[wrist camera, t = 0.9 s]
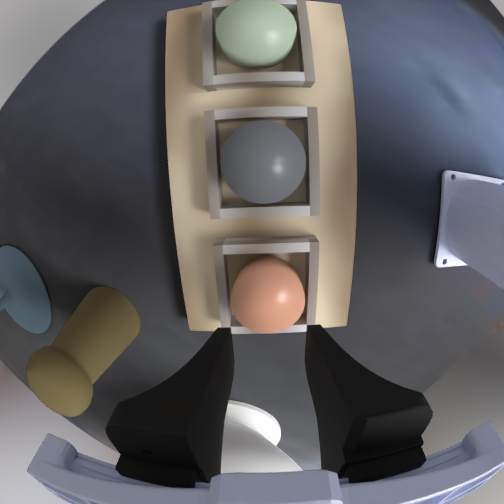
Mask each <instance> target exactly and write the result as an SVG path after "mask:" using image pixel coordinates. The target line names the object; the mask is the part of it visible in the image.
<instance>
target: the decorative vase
mask: <svg viewBox="0 0 504 504" xmlns="http://www.w3.org/2000/svg"><path fill="white" fill-rule="evenodd" d="M280 437H281V429H280V426H279V423H278V422H277V420H276V419H275V418H274V417H273V416H272V415H270V414H269V413H268V412H266V411H264V410H262V409H260V408H258V407H256V406H253V405H250V404H247V403H243V402H239V401H233V400H229V401H228V406H227V410H226V415H225V421H224V432H223V444H222V459H221V474H223V473H235V472H246V473H267V472H291V471H303V470H302V469H301V468H300V467H299V466H298V465H297V464H296V463H295V462H294V461H293V460H292V459H291V458H290V457H289V456H288V455H286V454H285V453H284V452H283V451H282V450H280V449H279V448H278V447H277V446H276V445H277V444H278V442H279V440H280Z"/></svg>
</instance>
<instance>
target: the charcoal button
mask: <svg viewBox="0 0 504 504" xmlns="http://www.w3.org/2000/svg"><path fill="white" fill-rule="evenodd" d="M220 165H221V171H222V175H223V177H224V180H225V181H226V183H227V185H228V186H229V187H230V189H231V190H232V191H233V192H234V193H235V194H237V195H238V196H239V197H241V198H243V199H245V200H247V201H250V202H253V203H259V204H268V203H274V202H277V201H280V200H282V199H284V198H286V197H288V196H289V195H290V194H292V193H293V192H294V191H295V190H296V189H297V187H298V186H299V184H300V183H301V181H302V179H303V177H304V174H305V169H306V155H305V151H304V148H303V145H302V143H301V142H300V140H299V138H298V137H297V136H296V135H295V134H294V133H293V132H292V131H291V130H290V129H289V128H287V127H286V126H284V125H282V124H280V123H277V122H274V121H268V120H258V121H253V122H249V123H246V124H244V125H242V126H240V127H239V128H237V129H236V130H235V131H234V132H233V133H232V134H231V135H230V136H229V137H228V139H227V140H226V142H225V144H224V146H223V149H222V152H221V158H220Z"/></svg>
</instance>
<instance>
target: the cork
mask: <svg viewBox="0 0 504 504" xmlns="http://www.w3.org/2000/svg"><path fill="white" fill-rule="evenodd" d="M139 331H140V318H139V316H138V313H137V311H136V309H135V307H134V306H133V305H132V303H131V302H130V300H129V299H127V298H126V297H125V296H124V295H123V294H122V293H120V292H118V291H116V290H115V289H113V288H109V287H104V286H102V287H95V288H94V289H92V290H91V291H89V292H88V294H87V295H86V296H85V298H84V299H83V300H82V302H81V303H80V304H79V306H78V307H77V309H76V310H75V311H74V313H73V314H72V315H71V317H70V318H69V320H68V321H67V323H66V324H65V325H64V327H63V328H62V330H61V331H60V333H59V334H58V336H57V337H56V339H55V340H54V342H53V343H52V345H51V346H50V347H47V346H45V347H43V348H41V349H39V350H38V351H36V352H34V353H33V355H32V356H31V357H30V359H29V361H28V363H27V366H26V378H27V381H28V384H29V386H30V388H31V390H32V391H33V392H34V394H35V395H36V396H37V397H38V398H39V400H41V402H43V403H44V404H45V405H46V406H47V407H48V408H50V409H51V410H53V411H54V412H56V413H58V414H60V415H64V416H68V417H75V416H78V415H80V414H81V413H83V412H84V411H85V410H86V409H87V408H88V406H89V404H90V403H91V400H92V396H93V384H94V382H95V381H96V380H97V379H98V378H99V377H100V376H101V375H102V374H103V373H104V372H105V370H106V369H107V368H108V367H109V366H110V365H111V364H112V363H113V362H114V361H115V360H116V359H117V357H118V356H119V355H120V354H121V353H122V352H123V351H124V350H125V349H126V348H127V347H128V346H129V345H130V344H131V342H132V341H133V340H134V339H135V338H136V337H137V336H138V334H139Z"/></svg>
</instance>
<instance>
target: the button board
mask: <svg viewBox="0 0 504 504" xmlns="http://www.w3.org/2000/svg"><path fill="white" fill-rule="evenodd" d="M237 1H240V0H218V1H210V2H203V3H202V5H199V6H193V7H188V8H182V9H177V10H172V11H168V12H167V28H166V56H165V101H166V132H167V151H168V167H169V180H170V191H171V202H172V212H173V221H174V230H175V238H176V246H177V254H178V261H179V268H180V275H181V282H182V288H183V294H184V300H185V306H186V312H187V317H188V323H189V328H190V331H215V330H216V329H217V328H218V327H231V333H232V334H260V332H256V331H253V330H250V329H248V328H246V327H245V326H243V325H242V324H241V323H240V322H239V321H238V320H237V318H236V317H235V315H234V313H233V311H232V308H231V294H232V290H233V285H234V281H235V277H236V275H237V273H238V271H239V270H240V269H241V267H242V266H243V265H245V264H246V263H247V262H249V261H251V260H253V259H255V258H258V257H264V256H272V257H277V258H281V259H283V260H285V261H287V262H288V263H290V264H291V265H292V266H293V267H294V268H295V270H296V271H297V273H298V275H299V277H300V280H301V284H302V287H303V290H304V294H305V306H304V310H303V312H302V314H301V316H300V318H299V319H298V320H297V321H296V322H295V323H294V324H293V325H291V326H290V327H288V328H287V329H285V330H282V331H279V332H275V333H289V332H307V325H317V324H320V325H321V326H322V327H323V328H325V327H338V326H346V324H347V317H348V309H349V301H350V293H351V283H352V273H353V262H354V249H355V233H356V210H357V142H356V120H355V105H354V93H353V82H352V73H351V64H350V57H349V49H348V42H347V36H346V30H345V24H344V19H343V13H342V8H341V4H334V3H325V2H315V1H306V0H272V1H275V2H277V3H279V4H281V5H283V6H284V7H286V8H287V9H288V10H289V11H290V12H291V14H292V15H293V17H294V19H295V21H296V25H297V31H296V36H295V39H294V43H293V46H292V49H291V52H290V53H289V55H288V56H287V57H286V58H285V59H284V60H283V61H282V62H281V63H279V64H277V65H275V66H273V67H269V68H265V69H248V68H244V67H241V66H238V65H236V64H234V63H233V62H231V61H230V60H229V59H228V58H227V57H226V56H225V54H224V53H223V51H222V49H221V46H220V43H219V41H218V38H217V35H216V30H215V27H216V22H217V19H218V17H219V15H220V14H221V13H222V11H223V10H224V9H226V8H227V7H228V6H229V5H231V4H233V3H235V2H237ZM258 120H268V121H274V122H277V123H280V124H282V125H284V126H286V127H287V128H289V129H290V130H291V131H292V132H293V133H294V134H295V135H296V136H297V137H298V138H299V140H300V142H301V143H302V145H303V148H304V151H305V155H306V169H305V174H304V177H303V179H302V181H301V183H300V184H299V186H298V187H297V189H296V190H295V191H294V192H293V193H292V194H290V195H289V196H288V197H286V198H284V199H282V200H280V201H277V202H274V203H268V204H259V203H253V202H250V201H247V200H245V199H243V198H241V197H239V196H238V195H237V194H235V193H234V192H233V191H232V190H231V189H230V187H229V186H228V185H227V183H226V181H225V180H224V177H223V175H222V171H221V165H220V158H221V152H222V149H223V146H224V144H225V142H226V140H227V139H228V137H229V136H230V135H231V134H232V133H233V132H234V131H235V130H236V129H237V128H239V127H240V126H242V125H244V124H246V123H249V122H253V121H258Z"/></svg>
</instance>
